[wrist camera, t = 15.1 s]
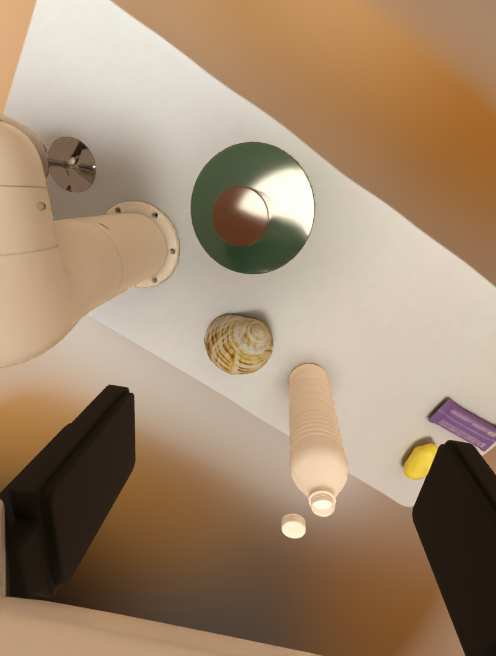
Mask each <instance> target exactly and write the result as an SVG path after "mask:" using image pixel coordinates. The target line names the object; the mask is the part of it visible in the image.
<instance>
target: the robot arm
mask: <svg viewBox="0 0 496 656" xmlns="http://www.w3.org/2000/svg"><path fill="white" fill-rule="evenodd" d="M119 209H120V210H121V212H120V211H119ZM156 213H157V214H158V217H156ZM173 249H175V252H173ZM179 251H180V247H179V240H178V236H177V233H176V231H175V229H174V227H173V225H172V223H171V222H170V220H169V219H168V218H167V217H166V216H165V215H164V214H163V213H162V212H161V211H160V210H158V209H157V208H155V207H154V206H151V205H149V204H147V203H143V202H138V201H129V202H123V203H120V204H117V205H115V206H113V207H112V208H110V209H109V210H108V211H107V212H106V213H105V214H104V215H102V216H92V217H81V218H70V219H60V220H55V221H54V220H53V215H52V209H51V204H50V199H49V193H48V188H47V184H46V179H45V174H44V170H43V166H42V162H41V159H40V156H39V154H38V152H37V149H36V148H35V146H34V144H33V143H32V141H31V140H30V139H29V138H28V137H27V136H26V135H25V134H24V133H23V132H21V131H20V130H18V129H17V128H15V127H14V126H12V125H9V124H7V123H5V122H2V121H0V368H3V367H9V366H13V365H16V364H20V363H23V362H26V361H28V360H31V359H33V358H35V357H37V356H39V355H41V354H43V353H44V352H46V351H47V350H49V349H50V348H52V347H53V346H54V345H56V344H57V343H58V342H59V341H61V340H62V339H63V338H64V337H65V336H66V335H67V334H68V332H70V331H71V329H72V328H73V327H74V326H75V325H76V324H77V322H78V321H79V320H80V319H81V318H82V317H83V316H85V315H86V314H87V313H89V312H90V311H92V310H93V309H95V308H96V307H98V306H100V305H101V304H103V303H105V302H107V301H109V300H111V299H112V298H114V297H116V296H118V295H119V294H121V293H123V292H124V291H126V290H128V289H130V288H131V287H133V286H135V287H151V286H154V285H157V284H159V283H161V282H163V281H164V280H165V279H167V278H168V277H169V276H170V275H171V274H172V272H173V271H174V269H175V267H176V265H177V262H178V259H179ZM155 278H156V279H157V280H155ZM134 464H135V411H134V394H133V393H129V389H128V388H127V387H122V386H116V385H108V386H107V387H106V388H105V389H104V390H103V391H102V392H101V393H100V394H99V395H98V396H97V397H96V398H95V399H94V400H93V401H92V402H91V403H90V404H89V405H88V406H87V407H86V409H84V411H83V412H82V413H81V414H80V415H79V416H78V417H77V418H76V419H75V420H74V421H73V422H72V423H70V424H68V425H67V426H65V427H64V428H63V429H62V430H61V431H60V432H59V433H58V434H57V435H56V436H55V437H54V438H53V439H52V440H51V441H50V443H48V445H46V447H45V448H44V449H43V450H42V451H41V452H40V453H39V454H38V455H37V456H36V457H35V458H34V459H33V460H32V461H31V462H30V463H29V464H28V465H27V466H26V467H25V468H24V469H23V470H22V471H21V472H20V473H19V474H18V475H17V476H16V477H15V478H14V479H13V480H12V481H11V483H9V484H8V485H7V486H6V488H5V489H4V490H3V491H2V492H1V493H0V656H321V655H317V654H312V653H307V652H302V651H297V650H293V649H288V648H283V647H278V646H273V645H268V644H263V643H258V642H253V641H249V640H244V639H239V638H234V637H229V636H224V635H220V634H215V633H209V632H205V631H200V630H195V629H189V628H185V627H180V626H174V625H170V624H165V623H160V622H155V621H149V620H144V619H140V618H135V617H129V616H124V615H120V614H115V613H109V612H104V611H98V610H93V609H87V608H81V607H76V606H70V605H65V604H59V603H53V602H48V601H40V600H33V599H34V598H35V596H36V595H38V596H43V597H48V598H53V597H54V595H55V594H56V592H57V590H58V589H59V587H60V585H61V584H67V583H68V582H69V581H70V579H71V578H72V576H73V574H74V573H75V571H76V569H77V567H78V566H79V564H80V562H81V560H82V559H83V557H84V555H85V553H86V551H87V550H88V548H89V546H90V544H91V543H92V540H93V539H94V537H95V536H96V534H97V532H98V530H99V529H100V527H101V525H102V523H103V522H104V520H105V518H106V516H107V515H108V513H109V511H110V509H111V508H112V505H113V504H114V502H115V500H116V499H117V497H118V495H119V494H120V492H121V490H122V488H123V486H124V485H125V483H126V481H127V480H128V478H129V476H130V474H131V472H132V470H133V468H134ZM412 515H413V516H412V517H413V522H414V524H415V527H416V530H417V532H418V535H419V537H420V540H421V542H422V545H423V547H424V550H425V553H426V555H427V558H428V560H429V563H430V565H431V568H432V571H433V573H434V576H435V578H436V581H437V584H438V586H439V589H440V591H441V594H442V597H443V599H444V602H445V604H446V607H447V609H448V612H449V615H450V617H451V620H452V622H453V625H454V627H455V630H456V632H457V635H458V638H459V640H460V643H461V645H462V648H463V651H464V653H465V656H496V475H495V473H494V472H493V471H492V469H491V468H490V467H489V465H488V464H487V463H486V461H485V460H484V459H483V457H482V456H481V455H480V453H479V452H478V451H477V449H476V448H475V447H474V446H473V445H472V444H470V443H465V442H459V441H453V440H448V441H447V442H446V443H445V444H441V445H440V446H439V448H438V450H437V452H436V455H435V457H434V460H433V462H432V464H431V467H430V469H429V471H428V474H427V476H426V479H425V481H424V483H423V486H422V488H421V491H420V493H419V495H418V498H417V500H416V502H415V505H414V507H413V512H412Z"/></svg>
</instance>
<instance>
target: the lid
mask: <svg viewBox="0 0 496 656" xmlns="http://www.w3.org/2000/svg"><path fill="white" fill-rule="evenodd" d="M314 214H315V202H314V194H313V190H312V187H311V184H310V182H309V179H308V177H307V175H306V173H305V172H304V170H303V169H302V167H301V166H300V165H299V163H298V162H297V161H296V160H295V159H294V158H293V157H292V156H290V155H289V154H288V153H286V152H285V151H283V150H281V149H280V148H278V147H275V146H273V145H270V144H266V143H261V142H246V143H240V144H236V145H233V146H230V147H228V148H226V149H224V150H223V151H221V152H219V153H218V154H217V155H215V156H214V157H213V158H212V159H211V160H210V161H209V162H208V163H207V164H206V165H205V167H204V168H203V170H202V171H201V172H200V174H199V176H198V178H197V180H196V183H195V186H194V189H193V193H192V198H191V218H192V224H193V227H194V231H195V233H196V236H197V238H198V240H199V242H200V244H201V245H202V247H203V248H204V250H205V251H206V252H207V253H208V254H209V255H210V257H211V258H213V259H214V260H215V261H216V262H217V263H219V264H220V265H222V266H224V267H226V268H228V269H230V270H232V271H235V272H239V273H244V274H262V273H267V272H270V271H273V270H276V269H278V268H280V267H282V266H283V265H285V264H287V263H288V262H289V261H290V260H292V259H293V258H294V257H295V256H296V255H297V254H298V253H299V252H300V250H301V249H302V247H303V246H304V245H305V243H306V241H307V239H308V237H309V235H310V232H311V229H312V226H313V222H314Z"/></svg>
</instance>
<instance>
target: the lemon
mask: <svg viewBox="0 0 496 656" xmlns="http://www.w3.org/2000/svg"><path fill="white" fill-rule="evenodd" d="M437 450H438V447H437V446H436V445H435V444H433V443H428V444H425V445H423V446H417V447H415V448H414V450H413V452H412V453H411V455H410V456H409V458H408V459H407V461H406V462H405V464H404V473H405V475H406V476H407V477H408V478H410V479H421V478H423V477H425V476H427V474H428V471H429V469H430V467H431V464H432V462H433V460H434V457H435V455H436V452H437Z"/></svg>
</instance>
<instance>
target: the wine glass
mask: <svg viewBox="0 0 496 656" xmlns="http://www.w3.org/2000/svg"><path fill="white" fill-rule="evenodd" d="M0 121H2V122H5V123H7V124H9V125H12V126H14V127H15V128H17V129H18V130H20V131H21V132H23V133H24V134H25V135H26V136H27V137H28V138H29V139H30V140H31V141H32V143H33V144H34V146H35V148H36V149H37V152H38V154H39V156H40V159H41V162H42V166H43V170H44V174H45V179H46V178H47V176H48V173H49V170H50V172H51V175H52V176H53V178H54V180H55V181H56V182H57V183H58V184H59V185H60V186H61V187H63V188H64V189H66V190H68V191H71V192H82V191H84V190H86V189H88V188H89V187H90V186H91V184H92V183H93V181H94V178H95V172H96V167H95V161H94V158H93V156H92V154H91V152H90V151H89V149H88V148H87V147H86V146H85V145H84V144H83V143H82V142H81V141H79V140H77V139H75V138H72V137H63V138H60V139H58V140H56V141H55V142H54V143H53V144H52V146H51V147H50V150H49V153H47V150H46V148H45V146H44V144H43V142H42V141H41V140H40V138H39V137H38V136H37V135H36V134H35V133H34V132H33V131H31V130H30V129H29V128H27V127H26V126H24V125H23V124H21V123H19V122H18V121H16V120H14V119H12V118H10V117H8V116H6V115H3V114H0Z"/></svg>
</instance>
